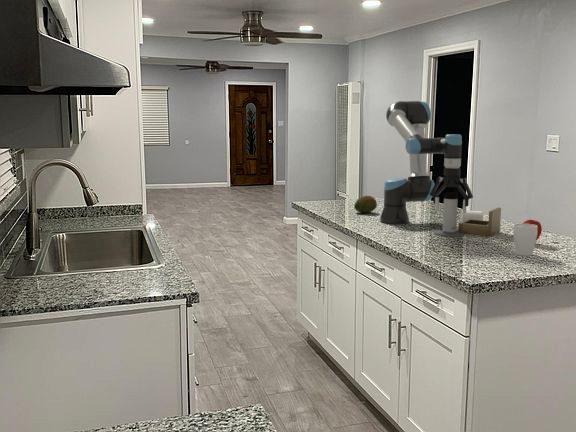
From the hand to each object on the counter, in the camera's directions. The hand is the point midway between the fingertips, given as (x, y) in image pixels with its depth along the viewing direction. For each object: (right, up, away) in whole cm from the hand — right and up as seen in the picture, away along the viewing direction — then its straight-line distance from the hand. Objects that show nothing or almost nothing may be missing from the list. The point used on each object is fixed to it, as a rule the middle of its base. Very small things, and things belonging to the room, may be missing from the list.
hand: (450, 211), depth 276 cm
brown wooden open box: (+15, -10, +5) cm, 18 cm away
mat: (0, -11, +2) cm, 11 cm away
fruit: (-32, 0, +64) cm, 72 cm away
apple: (+30, -14, -20) cm, 39 cm away
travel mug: (0, -10, +2) cm, 10 cm away
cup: (+19, -18, -40) cm, 47 cm away
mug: (+17, -7, +24) cm, 30 cm away
